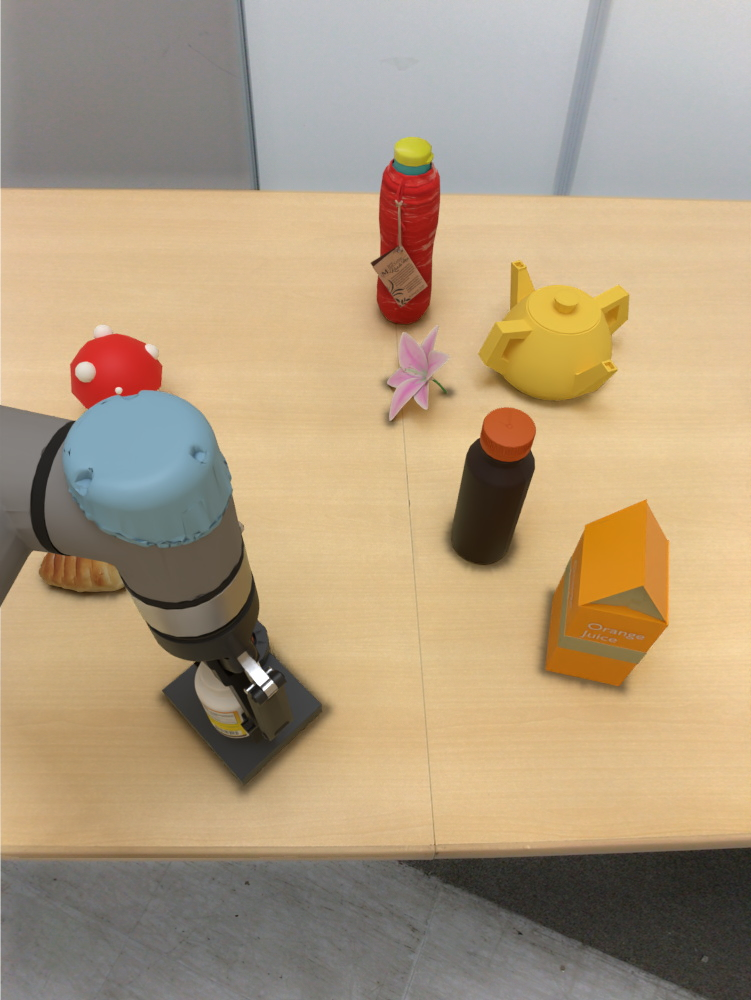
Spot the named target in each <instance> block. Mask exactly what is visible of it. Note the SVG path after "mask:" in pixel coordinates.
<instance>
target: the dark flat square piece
mask: <svg viewBox="0 0 751 1000" xmlns="http://www.w3.org/2000/svg"><path fill="white" fill-rule="evenodd" d="M252 634H253V635H252V637H253V641H254V645H255V647H256V648H257V650H258V652H259V654H260V659H259V660H258V662H259V664H260V666H261V668H262V670H263V671H264V670H266V669H267V668H268V667H271V668H272V669H273V670H275V669H276V670H278V671H280V672H282V673H283V675H284V676H285V677H284V678H285V679H286V683H285V685H284V688H285V692H286V695H287V698H288V702H289V705H290V709H291V712H292V715H293V719H294V720H293V721H292V722H290V723H289V724H288V725H287V726H286V727H285V728H284V729H283V730H282V731H281V732H280V733H279V734H278V735H277V736H276V737H274V738H273V739H272V740H271V741H270V740H267V739H266V738H265V737H264V738H263V739H262V740H261V741H260V742H259V743H258V744H257V745H256V744H255V743H254V742H253V741H252V739H251V738H250V735H249V736H247V737H243V738H231V737H227V736H225V735H223V734H221V733H220V732H218V731H217V730H216V729H215V727H214V726H213V725H212V723H211V721H210V719H209V717H208V715H207V713H206V711H205V709H204V707H203V705H202V703H201V701H200V699H199V697H198V695H197V692H196V689H195V675H196V672H197V669H196V667H195V665H194V663H193V664H191V665H190V666H189V667H188V668H187V669H185V670H184V671H183V672H182V673H181V674H179V676H177V677H176V678H174V679H173V680H172V681H171V682H170V683H168V684H167V685H166V686H165V687H164V688H163V689H161V691H162V693H163V694H164V696H165V698H166V699H167V700H168V701H169V702H170V703H171V705H172V706H173V707H174V708H175V709H176V710H177V711H178V713H179V714H180V715H181V716H182V717H183V718H184V720H185V721H186V722H187V723H188V724H189V725H190V726H191V727H192V729H193V730H194V731H195V732H196V733H197V734H198V736H199V737H200V738H201V739H202V740H203V741H204V742H205V744H207V746H208V747H209V748H210V749H211V750H212V752H213V753H214V754H215V755H216V756H217V758H218V759H220V761H221V762H222V763H223V764H224V766H226V768H227V769H228V770H229V771H230V772H231V774H232V775H233V776H234V777H235V778H236V779H237V780H238V781H239V782H240V784H241V785H242V786H245V785H246V784H247V783H248V782H250V780H251V779H252V778H254V777H255V776H256V775H257V774H258V773H259V772H260V771H261V770H262V769H263V768H264V767H266V765H267V764H268V763H270V762H271V761H272V760H273V758H275V757H276V756H277V754H279V753H280V752H281V751H282V750H283V749H284V748H286V746H287V745H288V744H289V743H291V742H292V741H293V740H294V739H295V738H296V737H297V736H298V735H299V734H300V733H301V732H302V731H303V730H304V729H305V728H307V726H308V725H309V724H310V723H311V722H313V721H314V720H315V719H316V718H317V717H318V716H319V715H320V714H321V713H322V712H323V706H322V703H321V702H320V701H319V700H318V699H317V698H316V697H315V696H314V695H313V694H312V693H311V692H310V691H309V690H308V689H307V688H306V687H305V686H304V684H302V683H301V682H300V681H299V680H298V679H297V678H296V677H295V676H294V675H293V674H292V673H291V672H290V671H289V670H288V668H286V667H285V666H284V664H283V663H281V661H280V660H278V658H276V656H275V655H274V654H272V652H271V644H270V639H269V635H268V631H267V628H266V627H265V626H264V624H263V623H261V621H260V620H259V619H257V622H256V625H255V628H254V630H253V633H252Z"/></svg>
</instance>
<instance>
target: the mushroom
mask: <svg viewBox="0 0 751 1000" xmlns="http://www.w3.org/2000/svg"><path fill="white" fill-rule="evenodd" d="M159 357H160V350H159V348H158V346H156V345H154V344H153V343H146V342H144V341H142V340H139V339H138V338H134V337H132V336H130V335H126V334H121V333H114V330H113V329H112V328H111V326H109V325H108V324H99V325H97V326H95V327H94V329H93V339H90V340H88V341H87V342H85V343H84V344H83V345H82V346H81V347H80V349H79V350H78V352H77V353H76V355H75V356H74V358H73V359H72V361H71V362H70V364H69V368H70V369H69V370H70V371H69V373H70V390H71V394H72V395H73V396H74V397H75V398H76V399H77V401H79V402H80V403H81V404H82V406H83V407H84V408H85V409H86V410H88V409H89V408H91V407H92V406H94V405H95V404H97V403H99V402H100V401H102V400H104V399H106V398H109V397H111V396H115V395H120V396H130V395H135V394H138V393H139V392H140V391H141V390H153V391H159V389H160V388H161V387H162V379H163V367H164V366H163V364H162V363H161V362H160V361H159Z"/></svg>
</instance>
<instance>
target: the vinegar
mask: <svg viewBox="0 0 751 1000" xmlns="http://www.w3.org/2000/svg"><path fill="white" fill-rule="evenodd" d="M536 435H537V426H536V424H535V421H534V419H533V418H532V417H531V416H530V414H528V413H526V412H524V411H523V410H522V409H518V408H515V407H511V406H510V407H507V406H503V407H499V408H494V409H493V410H491V411H489V413H487V414H486V415H485V417H484V418H483V421H482V425H481V430H480V433H479V437H478V438H477V439H476V440H474V442H473V443H472V444H470V446H469V448H468V450H467V452H466V454H465V459H464V464H463V469H462V474H461V480H460V483H459V489H458V493H457V500H456V504H455V510H454V515H453V520H452V526H451V530H450V541H451V544H452V547H453V549H454V550H455V552H456V553H457V554H458V555H459V556H460V557H461V558H462V559H464V560H466V561H467V562H470V563H473V564H475V565H476V564H478V565H489V564H493V563H495V562H498V561H499V560H501V559H502V558H503V557H504V556H505V555H506V554H507V553H508V552H509V550H510V549H509V548H510V546H511V543H512V541H513V538H514V534H515V531H516V528H517V525H518V522H519V519H520V516H521V513H522V510H523V507H524V503H525V501H526V497H527V494H528V492H529V489H530V486H531V482H532V480H533V476H534V473H535V472H536V471H535V470H536V458H535V455H534V454H533V452H532V451H533V450H532V447H533V444H534V441H535V438H536Z"/></svg>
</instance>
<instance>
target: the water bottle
mask: <svg viewBox="0 0 751 1000" xmlns="http://www.w3.org/2000/svg"><path fill="white" fill-rule="evenodd" d="M434 157H435V154H434V153H433V152H432V145H431V144H430V142H429V141H428V140H427V139H424V138H421V137H419V136H406V137H403V138H400V139H399V140H398V141H396V142H395V143H394V147H393V158H392V159H391V160H390V161H389V164H388V165H386V166H385V168H384V170H383V172H382V177H381V184H380V191H379V199H378V200H379V201H378V225H379V237H380V239H379V240H380V241H379V242H380V243H379V257H377V258H376V259H374V260H371V262H370V265H371V266H372V269H373V270H374V272H375V273H376V274H377V280H376V281H377V282H376V303H377V305H378V308H379V309H380V312H381V313H382V315H383V316H384V317H385V319H386V320H388V321H390V322H392V323H394V324H396V325H410V324H412V323H416V322H418V321H419V320H420V319H421V318H422V317H423V316H424V315H425V314H426V312H427V310H428V309H429V307H430V305H431V297H432V288H433V286H432V285H433V254H434V245H435V240H436V235H437V231H438V225H439V218H440V217H439V216H440V209H441V208H440V207H441V176H440V173H439V171H438V169H437V168H436V167H435V163H434V162H433V160H434Z"/></svg>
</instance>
